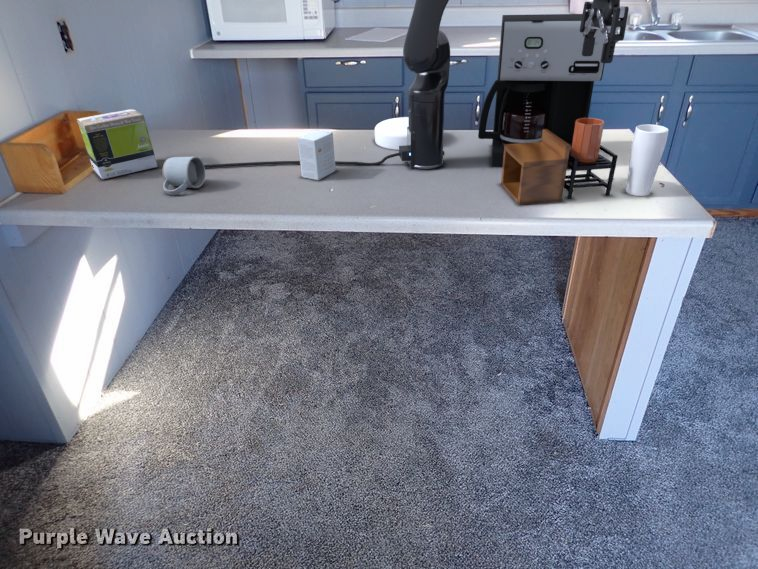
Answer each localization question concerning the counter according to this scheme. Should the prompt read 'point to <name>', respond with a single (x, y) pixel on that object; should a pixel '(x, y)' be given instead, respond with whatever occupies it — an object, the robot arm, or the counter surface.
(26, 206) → the counter surface
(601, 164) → the rack
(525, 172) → the wooden open box
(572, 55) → the coffee maker
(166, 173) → the ceramic mug
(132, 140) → the tea box
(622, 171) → the counter surface
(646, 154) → the drinking glass
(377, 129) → the container
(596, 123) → the cup
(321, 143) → the small box
